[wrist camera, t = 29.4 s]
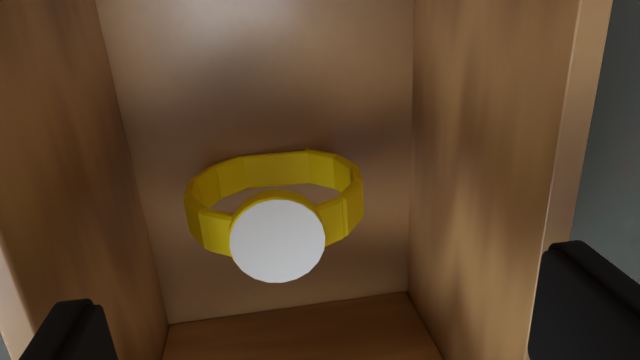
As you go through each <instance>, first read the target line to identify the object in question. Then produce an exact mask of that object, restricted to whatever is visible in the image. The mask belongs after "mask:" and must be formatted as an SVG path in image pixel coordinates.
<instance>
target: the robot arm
mask: <svg viewBox="0 0 640 360" xmlns="http://www.w3.org/2000/svg"><path fill="white" fill-rule="evenodd" d="M527 349H528V355H529V358H530V360H640V285H639V284H638V283H637V282H635V281H634V280H633V279H631V278H630V277H629V276H627V275H626V274H625V273H624V272H622V271H621V270H620V269H618V268H617V267H616V266H614V265H613V264H612V263H610V262H609V261H608V260H607V259H605V258H604V257H603V256H601V255H600V254H599V253H597V252H596V251H595V250H594V249H592V248H591V247H590V246H588V245H587V244H586V243H584V242H582V241H579V240H575V241H567V242H558V243H553V244H551V245H550V246H549V248H548V251H545V252H544V253H543V254H542V257H541V263H540V269H539V276H538V282H537V288H536V295H535V301H534V308H533V314H532V320H531V327H530V333H529V340H528V348H527ZM19 360H118V357H117V353H116V350H115V347H114V343H113V340H112V336H111V333H110V330H109V326H108V323H107V319H106V316H105V312H104V309H103V307H102V306H101V305H99V304H97V305H94V303H93V302H92V300H91V299H89V298H85V299H77V300H68V301H60V302H57V303H56V304H55V305H54V306H53V307H52V309H51V311H50V312H49V314H48V315H47V317H46V318H45V320H44V321H43V323H42V324H41V326H40V327H39V329H38V331H37V332H36V334H35V335H34V337H33V338H32V340H31V341H30V343H29V344H28V346H27V347H26V349H25V351H24V352H23V354H22V355H21V357H20V358H19Z"/></svg>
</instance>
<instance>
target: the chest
mask: <svg viewBox="0 0 640 360" xmlns="http://www.w3.org/2000/svg"><path fill="white" fill-rule="evenodd" d="M612 4H613V0H0V333H1V336H2V338H3V340H4V343H5V345H6V348H7V350H8V353H9V355H10V357H11V360H19V358H20V357H21V355H22V354H23V352H24V351H25V349H26V347H27V346H28V344H29V343H30V341H31V340H32V338H33V337H34V335H35V334H36V332H37V331H38V329H39V327H40V326H41V324H42V323H43V321H44V320H45V318H46V317H47V315H48V314H49V312H50V311H51V309H52V307H53V306H54V305H55V304H56V303H57V302H60V301H68V300H77V299H85V298H89V299H91V300H92V302H93V303H94V305H97V304H99V305H101V306H102V307H103V309H104V312H105V316H106V319H107V323H108V326H109V330H110V333H111V336H112V340H113V343H114V347H115V350H116V353H117V357H118V360H530V358H529V355H528V349H527V348H528V340H529V333H530V327H531V320H532V314H533V308H534V301H535V295H536V288H537V282H538V276H539V269H540V263H541V257H542V254H543V253H544V252H545V251H548V248H549V246H550V245H551V244H553V243H558V242H567V241H569V240H570V235H571V229H572V224H573V218H574V213H575V207H576V202H577V196H578V191H579V185H580V180H581V174H582V169H583V163H584V158H585V152H586V147H587V141H588V136H589V130H590V125H591V119H592V114H593V108H594V103H595V97H596V92H597V86H598V81H599V75H600V70H601V64H602V59H603V53H604V48H605V42H606V37H607V31H608V26H609V20H610V15H611V9H612ZM308 148H309V150H310V149H312V150H318V151H323V152H329V153H334V154H337V155H340V156H342V157H344V158H346V159H347V160H349V161H351V162H353V163H354V164H356V165H357V166H358V167H359V168H360V170H361V175H362V180H363V202H364V215H363V218H362V219H361V221H360V222H359V223H358V224H357V225H356V226H355V227H354V229H353V230H352V231H351V232H350V233H349V234H348V235H347V236H346V237H344V238H343V239H342V240H339V241H337V242H335V243H332V244H330V245H328V246H326V247H325V248H324V251H323V253H322V256H321V258H320V260H319V262H318V263H317V264H316V265H315V266H314V267H313V268H312V269H311V270H310V271H309V272H308V273H306V274H305V275H303V276H301V277H299V278H298V279H295V280H291V281H287V282H284V283H268V282H264V281H261V280H257V279H254V278H253V277H251V276H249V275H248V274H246V273H245V272H243V271H242V270H241V269H240V268H239V267H238V265H237V264H236V263H235V262H234V261H233V259H232V257H230V256H227V255H223V254H219V253H215V252H211V251H209V250H207V249H205V248H204V247H203V246H202V245H201V244H200V243H199V242H198V241H197V240H196V239H195V238H194V237H193V236H192V235H191V234H190V231H189V226H188V221H187V217H186V212H185V207H184V202H183V196H184V192H185V189H186V186H187V183H188V182H189V181H190V180H191V179H192V178H193V177H194V176H196V175H197V174H199V173H200V172H202V171H203V170H205V169H206V168H207V167H209V166H212V165H213V164H216V163H219V162H222V161H225V160H227V159H230V158H233V157H236V156H245V155H256V154H268V153H280V152H292V151H304V150H305V149H308ZM270 189H283V190H290V191H293V192H295V193H298V194H301V195H303V196H304V197H305V198H307V199H308V200H309V201H311V202H312V203H313V204H314V205H316V204H318V203H321V202H324V201H326V200H329V199H332V198H334V197H337V196H338V195H339V194H340V193H341V192H339V191H338V190H336V189H332V188H328V187H324V186H320V185H315V184H311V183H307V184H296V185H285V186H273V187H262V188H250V189H246V190H243V191H241V192H238V193H236V194H233V195H231V196H228V197H226V198H224V199H220V200H219V201H218V202H217V203H216V204H215V205H213V206H212V207H211V208H210V209H213V210H218V211H223V212H228V213H233V214H234V212H235V211H236V209H237V208H238V207H239V206H240V205H241V204H242V202H243V201H245V200H246V199H248V198H249V197H251V196H253V195H254V194H256V193H258V192H262V191H266V190H270Z"/></svg>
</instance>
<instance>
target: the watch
mask: <svg viewBox="0 0 640 360" xmlns="http://www.w3.org/2000/svg"><path fill="white" fill-rule="evenodd" d="M307 183H311V184H315V185H320V186H324V187H328V188H332V189H336V190H338V191H339V192H341V193H340V194H339V195H338V196H337V197H334V198H332V199H329V200H326V201H324V202H321V203H318V204H316V205H314V204H313V203H312V202H311V201H309V200H308V199H307V198H305V197H304V196H303V195H301V194H298V193H295V192H293V191H290V190H283V189H270V190H266V191H262V192H258V193H256V194H254V195H253V196H251V197H249V198H248V199H246V200H245V201H243V202H242V204H241V205H240V206H239V207H238V208H237V209H236V211H235V212H234V214H233V213H228V212H223V211H218V210H213V209H210V208H211V207H212V206H213V205H215V204H216V203H217V202H218V201H219V200H220V199H224V198H226V197H228V196H231V195H233V194H236V193H238V192H241V191H243V190H246V189H250V188H262V187H273V186H285V185H296V184H307ZM183 202H184V207H185V212H186V217H187V221H188V226H189V231H190V234H191V235H192V236H193V237H194V238H195V239H196V240H197V241H198V242H199V243H200V244H201V245H202V246H203V247H204V248H205V249H207V250H209V251H211V252H215V253H219V254H223V255H227V256H230V257H232V259H233V261H234V262H235V263H236V264H237V265H238V267H239V268H240V269H241V270H242V271H243V272H245V273H246V274H248V275H249V276H251V277H253V278H254V279H257V280H261V281H264V282H268V283H284V282H287V281H291V280H295V279H298V278H299V277H301V276H303V275H305V274H306V273H308V272H309V271H310V270H311V269H312V268H313V267H314V266H315V265H316V264H317V263H318V262H319V260H320V258H321V256H322V253H323V251H324V248H325V247H326V246H328V245H330V244H332V243H335V242H337V241H339V240H342V239H343V238H344V237H346V236H347V235H348V234H349V233H350V232H351V231H352V230H353V229H354V227H355V226H356V225H357V224H358V223H359V222H360V221H361V219H362V218H363V215H364V202H363V180H362V175H361V170H360V168H359V167H358V166H357V165H356V164H354V163H353V162H351V161H349V160H347V159H346V158H344V157H342V156H340V155H337V154H334V153H329V152H323V151H318V150H312V149H310V150H309V148H308V149H305V150H304V151H292V152H280V153H268V154H256V155H245V156H236V157H233V158H230V159H227V160H225V161H222V162H219V163H216V164H213V165H212V166H209V167H207V168H206V169H205V170H203V171H202V172H200V173H199V174H197V175H196V176H194V177H193V178H192V179H191V180H190V181H189V182H188V183H187V186H186V189H185V192H184V196H183Z"/></svg>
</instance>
